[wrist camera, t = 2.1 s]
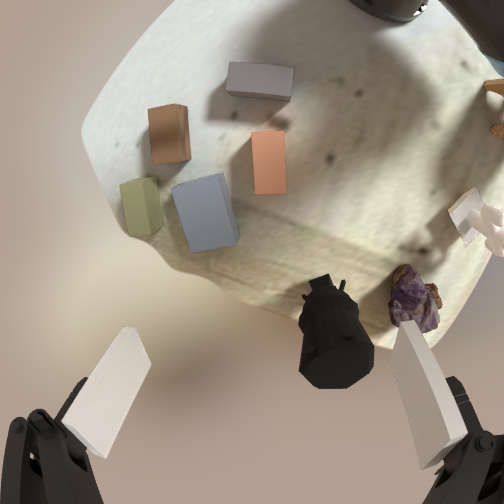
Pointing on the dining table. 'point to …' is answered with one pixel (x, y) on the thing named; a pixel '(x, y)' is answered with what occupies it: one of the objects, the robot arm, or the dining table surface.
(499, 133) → the planter
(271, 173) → the terracotta block
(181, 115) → the walnut block
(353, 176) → the dining table surface
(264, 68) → the charcoal block
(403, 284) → the rock
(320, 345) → the toy
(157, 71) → the dining table surface
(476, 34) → the robot arm
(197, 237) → the slate slab
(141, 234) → the olive block
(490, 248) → the figurine
